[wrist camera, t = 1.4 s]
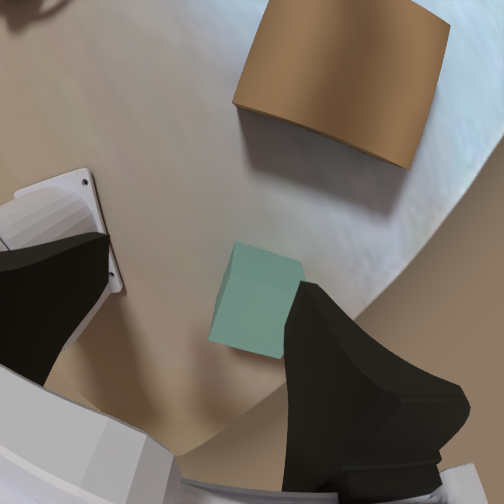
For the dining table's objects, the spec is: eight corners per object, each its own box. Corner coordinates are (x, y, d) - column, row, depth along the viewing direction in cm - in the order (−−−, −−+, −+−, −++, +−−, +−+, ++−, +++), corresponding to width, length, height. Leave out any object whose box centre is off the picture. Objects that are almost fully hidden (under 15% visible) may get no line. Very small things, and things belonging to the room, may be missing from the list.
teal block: (300, 261, 21) (311, 299, 17) (276, 314, 23) (280, 358, 18) (235, 240, 21) (229, 275, 16) (217, 296, 22) (208, 340, 18)
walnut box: (420, 37, 15) (450, 25, 11) (382, 160, 19) (409, 170, 15) (284, -22, 14) (290, -50, 10) (236, 107, 18) (231, 102, 14)
